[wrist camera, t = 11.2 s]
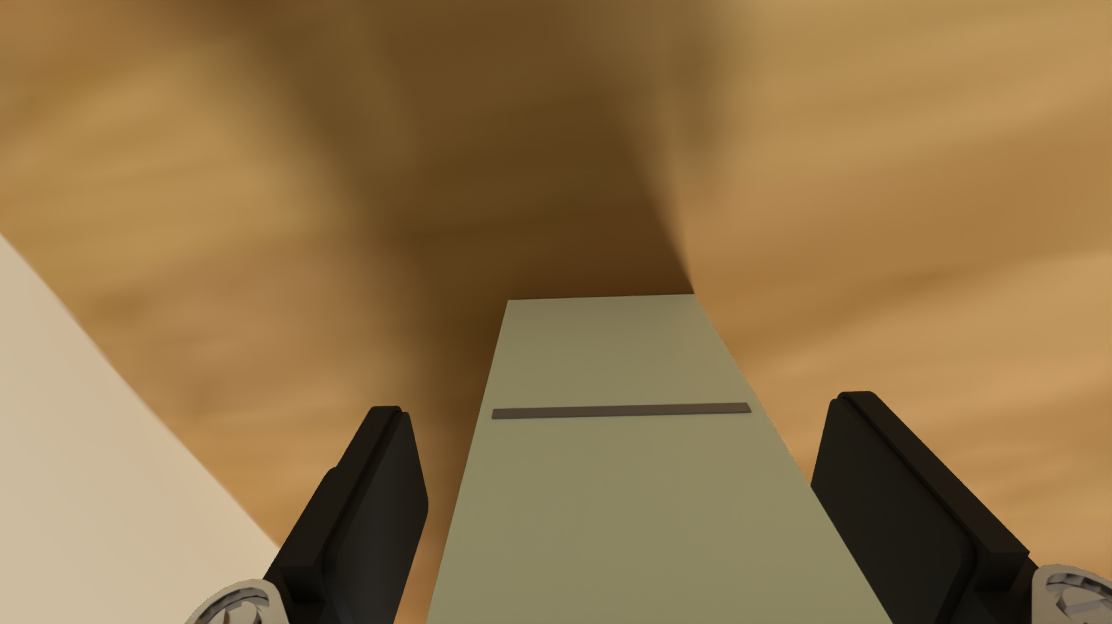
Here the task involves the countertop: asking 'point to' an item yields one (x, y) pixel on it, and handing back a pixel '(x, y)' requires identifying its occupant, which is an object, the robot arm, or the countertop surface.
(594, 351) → the sage domino
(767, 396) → the countertop surface
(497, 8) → the countertop surface
